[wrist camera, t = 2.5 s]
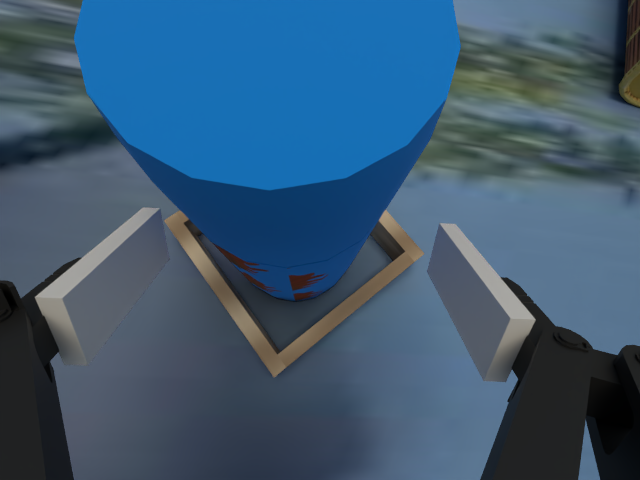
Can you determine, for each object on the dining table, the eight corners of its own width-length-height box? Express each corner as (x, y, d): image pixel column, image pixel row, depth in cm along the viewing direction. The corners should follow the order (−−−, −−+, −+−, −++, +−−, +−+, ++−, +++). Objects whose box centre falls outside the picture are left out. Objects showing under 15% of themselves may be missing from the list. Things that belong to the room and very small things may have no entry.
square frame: (180, 234, 33) (164, 220, 29) (310, 147, 36) (311, 125, 33) (277, 372, 30) (273, 377, 26) (410, 263, 33) (424, 253, 29)
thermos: (290, 179, 35) (259, -157, 11) (370, 241, 34) (534, 4, 10) (218, 256, 32) (-24, 30, 9) (302, 327, 31) (295, 293, 7)
